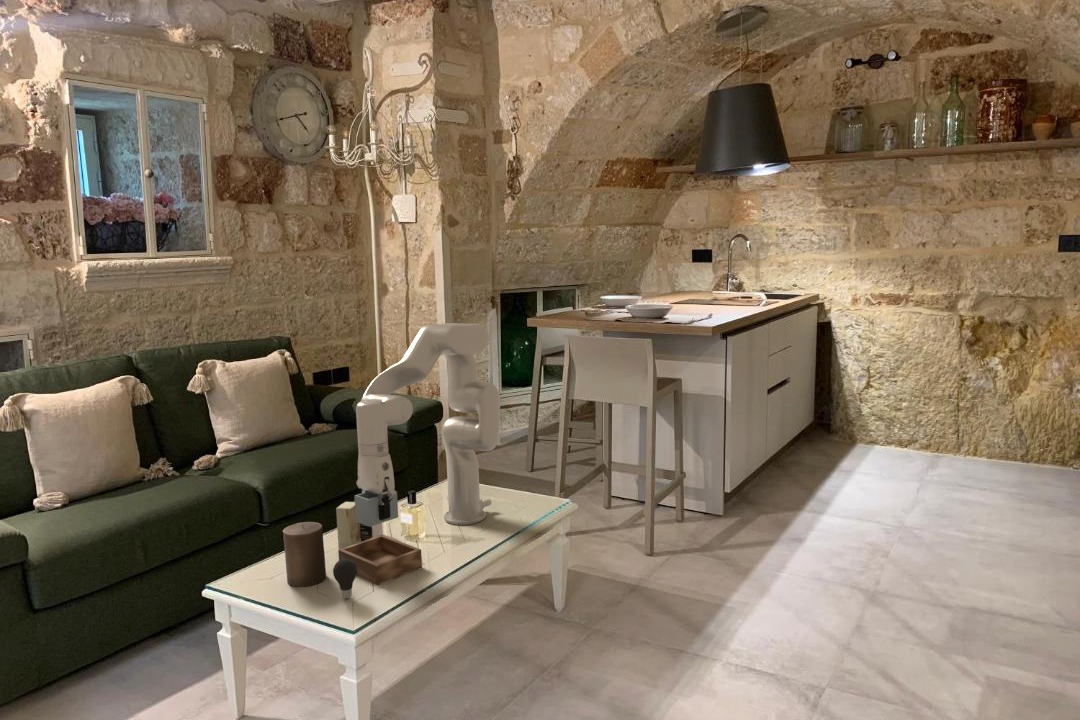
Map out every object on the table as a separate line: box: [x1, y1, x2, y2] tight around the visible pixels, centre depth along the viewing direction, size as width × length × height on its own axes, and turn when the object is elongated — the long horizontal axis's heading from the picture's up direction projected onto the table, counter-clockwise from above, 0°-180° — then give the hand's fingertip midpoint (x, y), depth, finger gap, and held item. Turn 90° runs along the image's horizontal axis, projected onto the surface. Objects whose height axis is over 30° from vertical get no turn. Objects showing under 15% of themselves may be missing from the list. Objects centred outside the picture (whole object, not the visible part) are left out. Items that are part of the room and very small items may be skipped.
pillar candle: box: [282, 521, 327, 587], centre depth 211 cm, size 10×10×15 cm
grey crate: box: [354, 490, 399, 527], centre depth 215 cm, size 9×6×7 cm, turn 137°
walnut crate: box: [337, 534, 423, 586], centre depth 218 cm, size 14×17×5 cm
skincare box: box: [335, 501, 361, 550], centre depth 233 cm, size 6×4×12 cm
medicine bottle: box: [353, 499, 384, 542], centre depth 239 cm, size 7×7×12 cm
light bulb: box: [332, 559, 357, 601], centre depth 199 cm, size 6×6×10 cm
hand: (377, 515), depth 216 cm, fingers closed on grey crate, 6 cm apart
